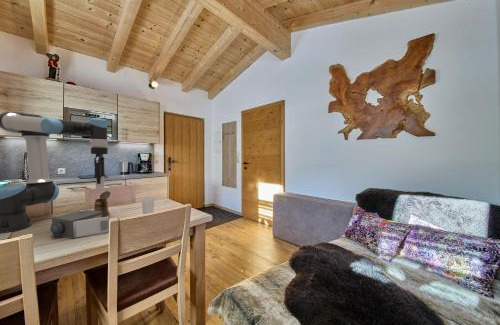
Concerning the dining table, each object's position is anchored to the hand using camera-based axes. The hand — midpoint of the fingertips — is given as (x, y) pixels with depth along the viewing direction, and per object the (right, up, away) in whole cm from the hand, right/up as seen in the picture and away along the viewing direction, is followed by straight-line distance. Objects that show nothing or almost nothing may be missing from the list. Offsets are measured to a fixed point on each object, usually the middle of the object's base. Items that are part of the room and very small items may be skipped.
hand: (100, 188), depth 114 cm
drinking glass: (+19, -23, +15) cm, 33 cm away
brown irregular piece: (-14, -21, +21) cm, 33 cm away
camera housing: (-10, -23, -4) cm, 25 cm away
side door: (+2, -23, -8) cm, 24 cm away
